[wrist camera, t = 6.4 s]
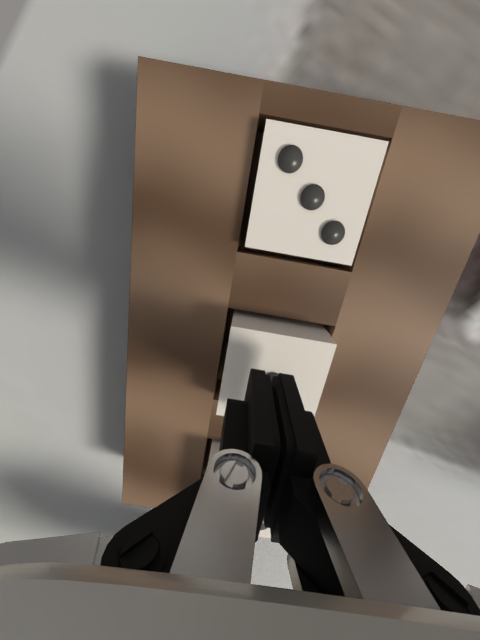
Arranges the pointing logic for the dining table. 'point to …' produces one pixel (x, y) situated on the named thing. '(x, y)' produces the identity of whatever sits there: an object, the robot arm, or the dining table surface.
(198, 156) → the board
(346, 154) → the key three
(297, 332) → the key one
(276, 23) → the dining table surface
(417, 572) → the robot arm
